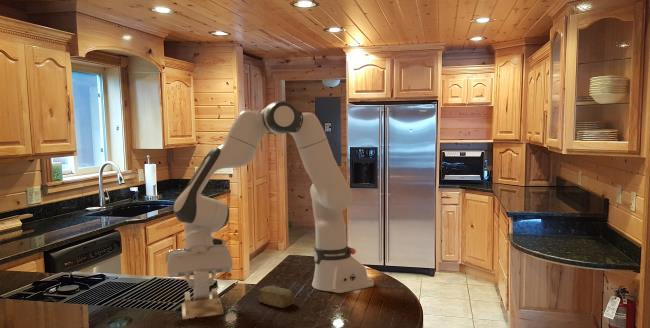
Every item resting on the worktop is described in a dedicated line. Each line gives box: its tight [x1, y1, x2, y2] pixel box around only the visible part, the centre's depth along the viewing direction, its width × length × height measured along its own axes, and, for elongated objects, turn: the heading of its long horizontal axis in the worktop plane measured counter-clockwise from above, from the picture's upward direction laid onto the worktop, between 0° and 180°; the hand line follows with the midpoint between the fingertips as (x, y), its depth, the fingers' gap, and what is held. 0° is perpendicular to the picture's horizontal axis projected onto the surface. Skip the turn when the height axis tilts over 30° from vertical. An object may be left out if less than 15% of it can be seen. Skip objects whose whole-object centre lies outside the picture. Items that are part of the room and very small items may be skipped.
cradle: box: [181, 288, 224, 320], centre depth 141 cm, size 12×12×4 cm
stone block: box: [257, 285, 295, 309], centre depth 146 cm, size 6×12×5 cm, turn 56°
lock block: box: [192, 268, 210, 301], centre depth 141 cm, size 4×5×10 cm
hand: (201, 285), depth 140 cm, fingers closed on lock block, 4 cm apart
